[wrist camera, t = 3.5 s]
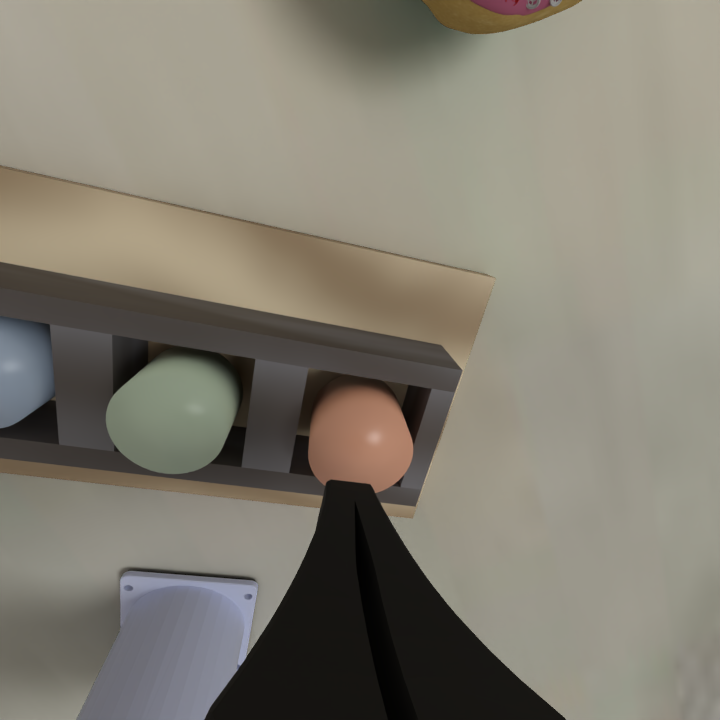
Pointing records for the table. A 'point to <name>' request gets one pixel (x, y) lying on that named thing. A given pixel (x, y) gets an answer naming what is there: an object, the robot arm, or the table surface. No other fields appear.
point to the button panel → (221, 333)
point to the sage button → (176, 410)
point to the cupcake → (494, 13)
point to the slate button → (24, 368)
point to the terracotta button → (359, 433)
